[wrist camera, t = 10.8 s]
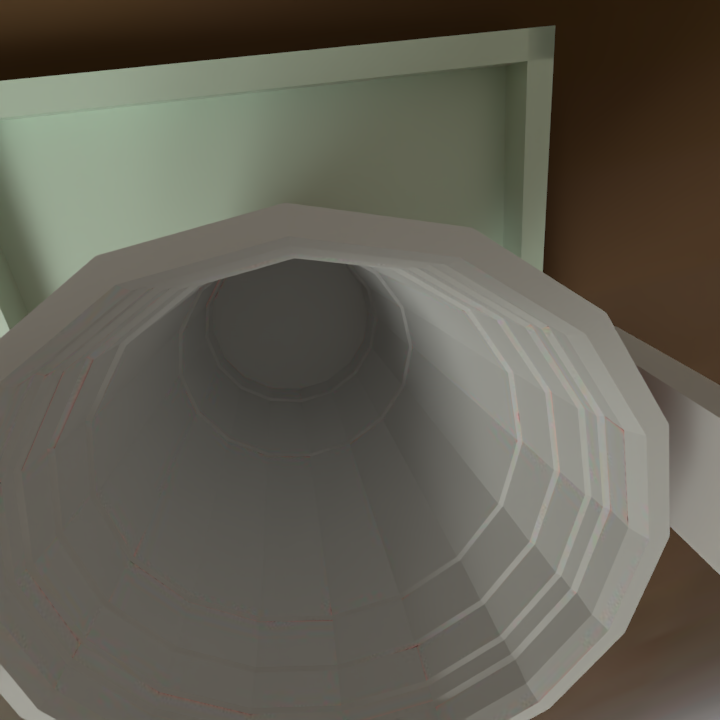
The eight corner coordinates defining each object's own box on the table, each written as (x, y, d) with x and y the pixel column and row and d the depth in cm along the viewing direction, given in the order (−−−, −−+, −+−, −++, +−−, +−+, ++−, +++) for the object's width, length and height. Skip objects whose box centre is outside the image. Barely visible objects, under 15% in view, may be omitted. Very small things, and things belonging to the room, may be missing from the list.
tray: (101, 526, 21) (86, 564, 19) (-82, 97, 14) (-131, 93, 12) (510, 444, 23) (532, 471, 21) (522, 35, 16) (555, 25, 14)
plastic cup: (153, 93, 15) (-126, 16, 4) (481, 214, 18) (823, 354, 7) (94, 417, 18) (-133, 835, 8) (374, 469, 22) (493, 815, 11)
